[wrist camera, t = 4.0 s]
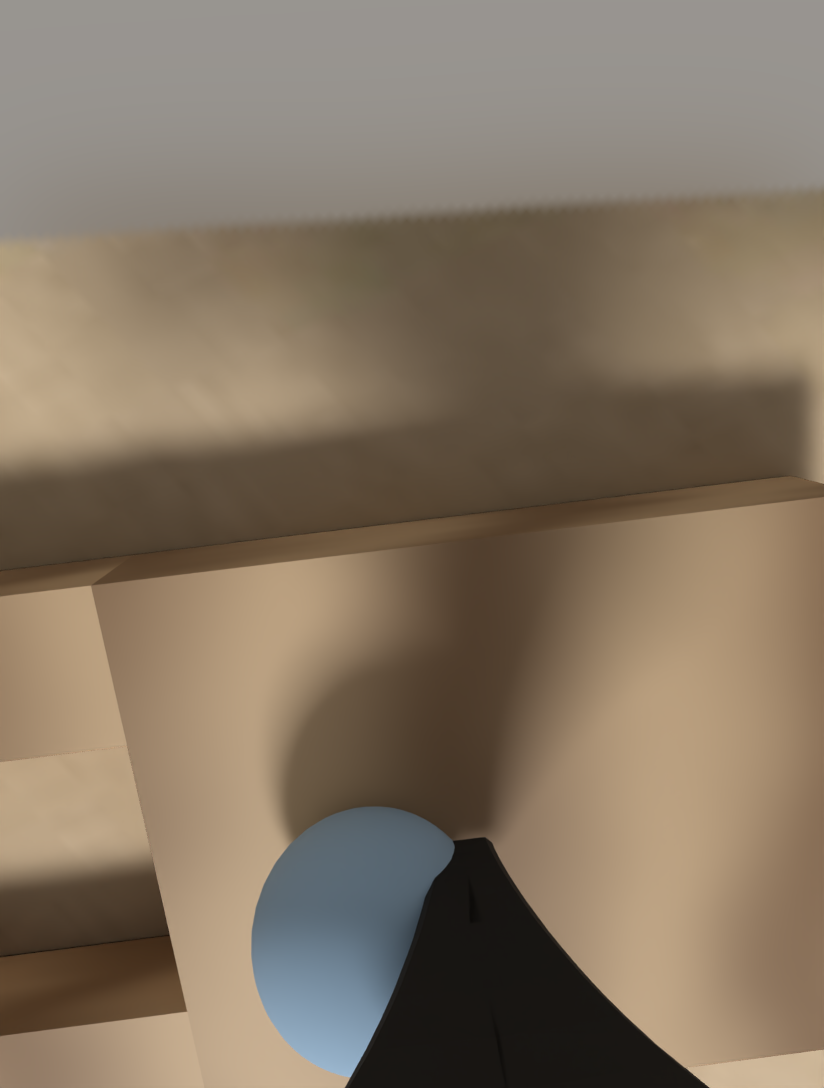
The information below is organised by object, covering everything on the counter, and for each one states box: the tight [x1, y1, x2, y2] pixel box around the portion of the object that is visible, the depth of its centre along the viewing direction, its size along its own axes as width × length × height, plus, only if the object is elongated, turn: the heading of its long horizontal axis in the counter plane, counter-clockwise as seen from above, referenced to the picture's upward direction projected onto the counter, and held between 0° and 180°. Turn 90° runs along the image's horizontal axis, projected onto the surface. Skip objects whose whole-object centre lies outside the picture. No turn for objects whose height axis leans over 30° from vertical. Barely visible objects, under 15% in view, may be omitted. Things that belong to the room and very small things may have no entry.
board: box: [0, 476, 824, 1088], centre depth 13 cm, size 22×11×4 cm, turn 97°
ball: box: [251, 807, 455, 1077], centre depth 11 cm, size 4×4×4 cm
